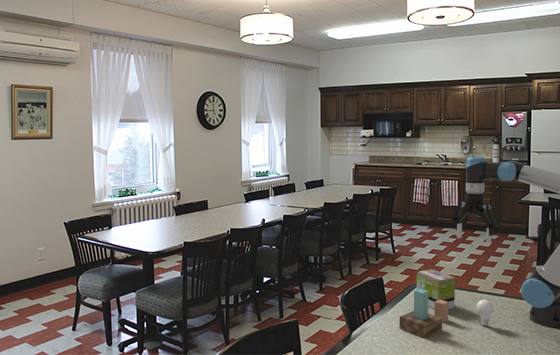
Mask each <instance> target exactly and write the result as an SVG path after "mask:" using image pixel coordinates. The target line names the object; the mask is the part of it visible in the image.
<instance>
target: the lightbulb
mask: <svg viewBox="0 0 560 355" xmlns="http://www.w3.org/2000/svg"><path fill="white" fill-rule="evenodd" d="M476 310H477V312H478V314H479V316H480V325H482V326H483V327H487V326H489V320H490V319H489V318H490V316H491V315H492V314H493V311H494V304H493V303H492V302H491V301H490V300H489V299H485V298H484V299H480V300H478V302H477V303H476Z"/></svg>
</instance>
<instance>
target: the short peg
mask: <svg viewBox="0 0 560 355" xmlns="http://www.w3.org/2000/svg"><path fill="white" fill-rule="evenodd" d="M434 315H435V316H438V317H441V318H442V323H445V322H447V321H449V309H448V302H447V301H443V300H437V301H435V309H434Z"/></svg>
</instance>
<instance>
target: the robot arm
mask: <svg viewBox="0 0 560 355" xmlns="http://www.w3.org/2000/svg"><path fill="white" fill-rule="evenodd" d="M465 165H466V166H465V192H466V193H465V195H464V196H465V202H464V201H459V202H458V206H457V208H456V210H455V212H454V214H453V216H452V218H451V222H454V224H455V231H456V238H457V239H461V238H462V236H463V223H462V221H463V220H464V219H465V218H466V217H467V215H469V214H474V215H477V214H478V215H479V217H481V219H482V220H483V222H484V223H485V225H486V226H487V228H486V238H485V239H486V240H485V242H486V244H490V243H492V236H493V235H494V229H495V228H497V227H499V224H498V222H497V219H496V217H495V215H494V213H493V211H492V204H485V202H484V201H485V193H484V192H485V180H487V181H488V180H492V181H503V182H505V181H507V182H509V181H510V182H511V181H513V180H514V181H517V182H521V183H524V184H527V185H531V186H532V187H533V186H534V187H537V188H541V189H543V190H546V191H550V192H553V193H557V194H560V174H559V173H556V172H554V171H553V172H552V171H549V170H546V169H542V168H538V167H534V166H531V165H526V164H523V163H520V161H516V160H508V161H497V162H495V161H490V162H489V161H486V158H485V157H483V156H469V157H467V159H466V164H465ZM464 208H465V209H464ZM463 209H464V210H463ZM483 209H484V210H483ZM462 211H463V212H462ZM485 211H486V212H485ZM461 213H462V214H461ZM520 292H521V297H522V298H523V300H524V301H525V302H526V303H527V304H528V305H530V306H531V308H530V310H529V313H528V318H529V319H530V321H532V322H534V323H536V324H538V325H541V326H545V327H550V328H560V243H559V245H557V247H556V248H555V249H554V251H553V252H552V254H551V255H550V256H549V258H547V261H545V264H544V265H537V266H536V267H535V269H534V271H533V272H532V274H531V275H530V276H529V278H528V279H526V280H525V281H523V283H522V285H521V288H520Z"/></svg>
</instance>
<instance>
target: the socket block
mask: <svg viewBox="0 0 560 355" xmlns="http://www.w3.org/2000/svg"><path fill="white" fill-rule="evenodd" d="M399 329H401V330H403V331H405V332H408V333H411V334H413V335H416V336H418V337H421V338H424V339H425V338H428V337H430V336H432V335H434V334H437V333H438V332H441V331H442V330H443V322H442V318H441V317H438V316H435V314H432V313H429V312H428V319H426V320H424V321H421V320H418V319H416V318H414V310H412V311H411V312H407V313H405V314H403V315H400V316H399Z"/></svg>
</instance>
